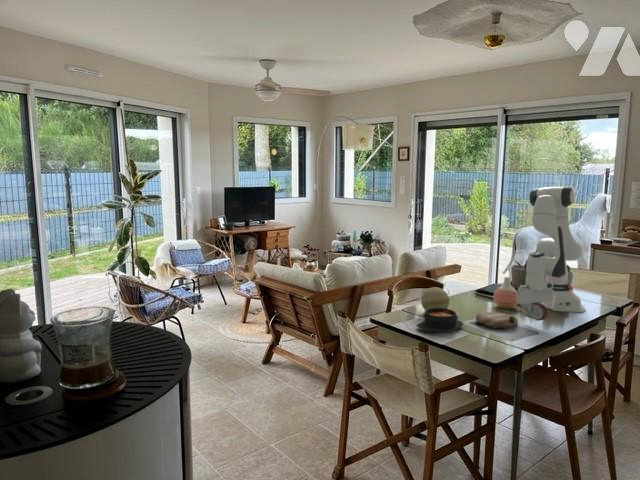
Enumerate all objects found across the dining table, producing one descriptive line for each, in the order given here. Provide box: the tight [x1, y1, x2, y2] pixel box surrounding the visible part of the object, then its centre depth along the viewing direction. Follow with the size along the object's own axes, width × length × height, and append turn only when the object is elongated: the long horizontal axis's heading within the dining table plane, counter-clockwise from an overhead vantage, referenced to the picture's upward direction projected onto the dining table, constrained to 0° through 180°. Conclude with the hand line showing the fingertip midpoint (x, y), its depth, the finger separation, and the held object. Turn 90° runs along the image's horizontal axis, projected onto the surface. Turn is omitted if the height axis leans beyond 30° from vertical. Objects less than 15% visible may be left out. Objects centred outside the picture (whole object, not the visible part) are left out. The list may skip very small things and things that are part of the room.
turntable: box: [475, 311, 518, 328], centre depth 247 cm, size 20×20×4 cm
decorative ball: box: [420, 286, 450, 311], centre depth 262 cm, size 15×15×15 cm
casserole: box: [416, 308, 464, 333], centre depth 241 cm, size 25×19×8 cm
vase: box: [493, 276, 519, 310], centre depth 273 cm, size 14×14×18 cm
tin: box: [519, 303, 549, 321], centre depth 242 cm, size 15×3×8 cm, turn 25°
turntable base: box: [487, 325, 508, 329], centre depth 247 cm, size 14×14×2 cm
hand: (533, 310), depth 242 cm, fingers closed on tin, 3 cm apart
